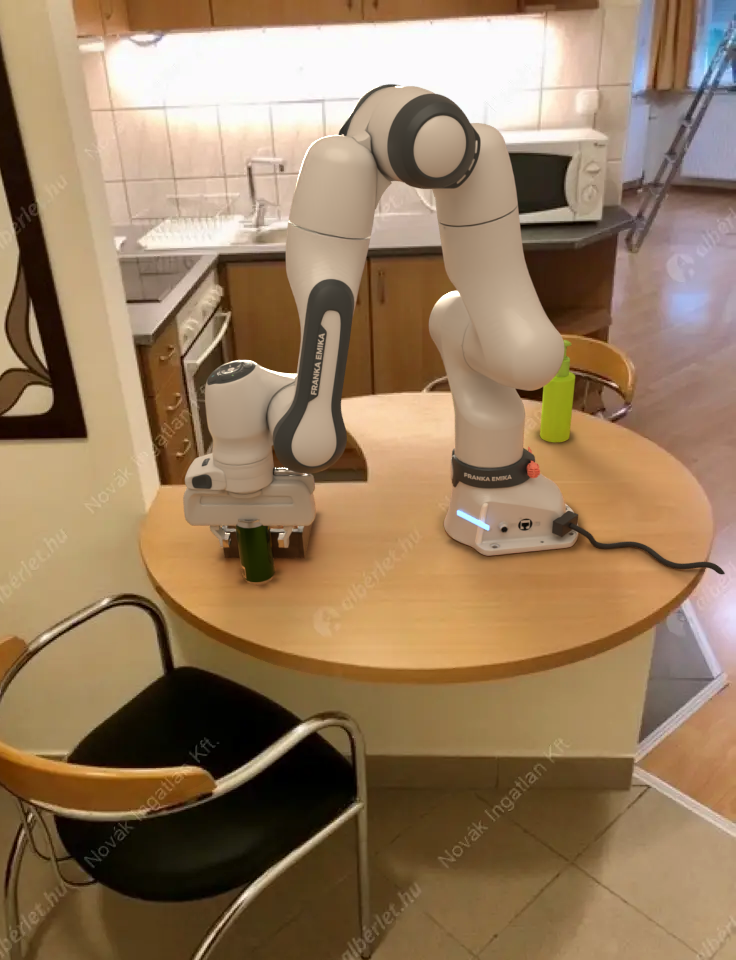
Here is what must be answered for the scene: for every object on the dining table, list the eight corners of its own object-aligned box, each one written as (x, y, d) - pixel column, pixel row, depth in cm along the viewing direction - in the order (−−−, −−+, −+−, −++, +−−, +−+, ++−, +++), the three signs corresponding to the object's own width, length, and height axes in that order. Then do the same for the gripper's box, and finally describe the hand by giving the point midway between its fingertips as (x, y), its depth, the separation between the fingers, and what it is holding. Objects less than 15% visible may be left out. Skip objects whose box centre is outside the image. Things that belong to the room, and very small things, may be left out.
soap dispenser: (529, 433, 176) (536, 340, 165) (560, 427, 177) (568, 334, 166) (544, 445, 171) (551, 349, 160) (574, 439, 172) (584, 344, 162)
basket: (314, 515, 154) (312, 489, 151) (305, 558, 142) (302, 532, 139) (239, 515, 155) (236, 489, 152) (223, 558, 144) (219, 531, 141)
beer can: (252, 590, 135) (243, 526, 129) (236, 574, 139) (227, 512, 133) (281, 578, 138) (274, 514, 131) (265, 563, 142) (257, 500, 135)
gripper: (315, 458, 129) (322, 534, 137) (184, 459, 132) (197, 534, 139) (310, 478, 124) (317, 557, 132) (173, 479, 126) (188, 556, 134)
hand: (255, 545), depth 135 cm, fingers open, 8 cm apart
